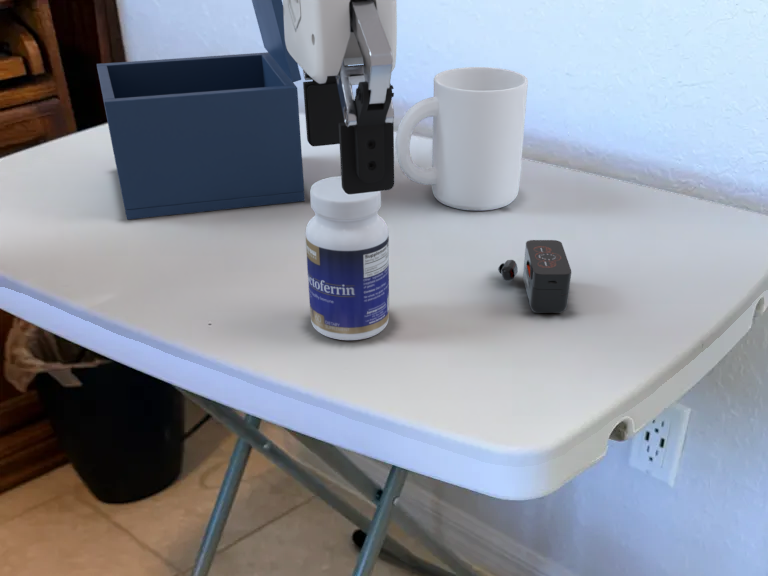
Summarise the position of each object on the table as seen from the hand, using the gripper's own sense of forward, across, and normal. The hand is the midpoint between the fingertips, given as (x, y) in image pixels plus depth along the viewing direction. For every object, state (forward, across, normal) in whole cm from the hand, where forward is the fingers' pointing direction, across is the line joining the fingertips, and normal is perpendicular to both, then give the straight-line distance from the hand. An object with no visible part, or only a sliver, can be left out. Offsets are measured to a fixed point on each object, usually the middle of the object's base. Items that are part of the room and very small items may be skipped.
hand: (348, 165), depth 60 cm
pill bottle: (+12, 0, 0) cm, 12 cm away
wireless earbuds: (+12, -1, +14) cm, 19 cm away
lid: (-7, -32, 0) cm, 33 cm away
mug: (+12, -22, +16) cm, 30 cm away
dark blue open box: (+11, -32, -6) cm, 35 cm away
